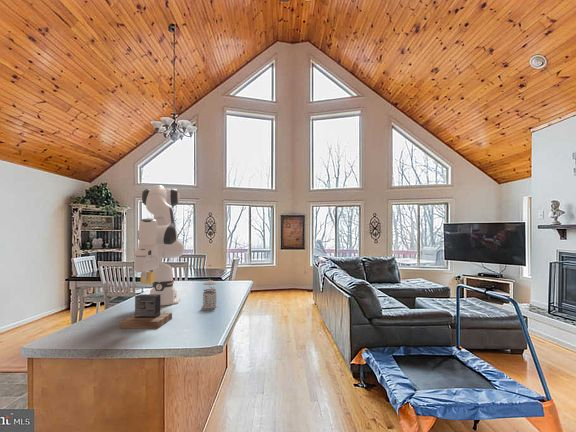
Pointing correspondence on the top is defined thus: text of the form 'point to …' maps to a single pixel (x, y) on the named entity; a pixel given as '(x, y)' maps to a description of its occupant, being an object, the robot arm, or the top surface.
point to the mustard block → (148, 278)
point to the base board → (146, 321)
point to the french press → (209, 295)
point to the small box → (147, 305)
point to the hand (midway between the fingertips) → (147, 279)
